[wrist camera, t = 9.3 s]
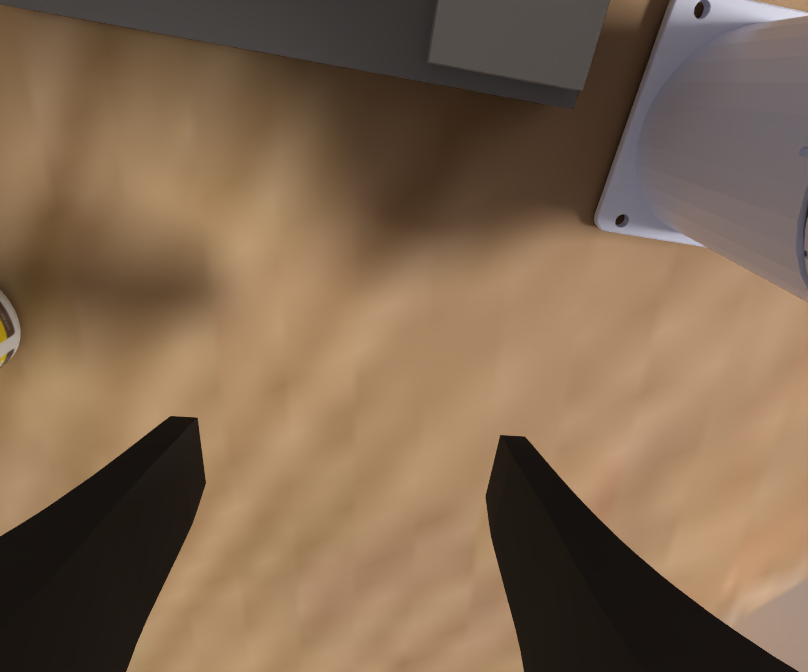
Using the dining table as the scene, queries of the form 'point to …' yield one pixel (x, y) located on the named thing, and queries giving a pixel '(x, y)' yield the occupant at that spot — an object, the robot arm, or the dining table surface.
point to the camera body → (388, 36)
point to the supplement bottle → (8, 330)
